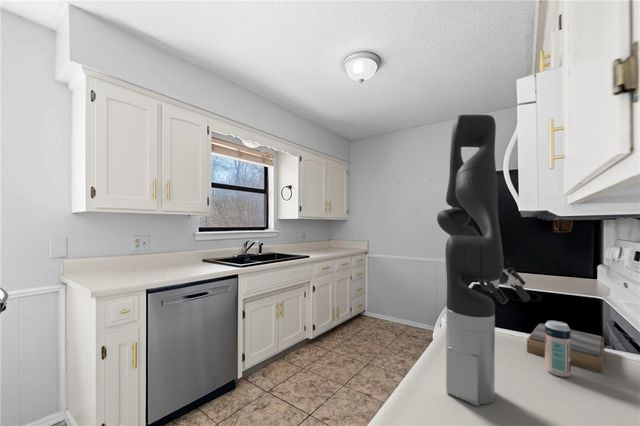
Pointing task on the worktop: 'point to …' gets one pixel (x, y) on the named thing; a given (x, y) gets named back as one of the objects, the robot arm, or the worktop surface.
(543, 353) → the dock
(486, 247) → the robot arm
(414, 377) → the worktop surface
